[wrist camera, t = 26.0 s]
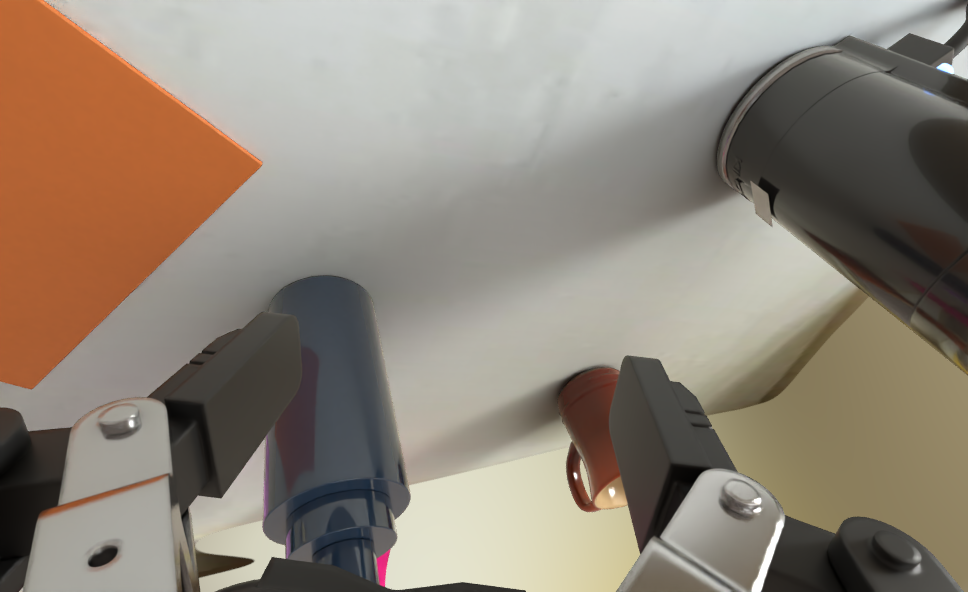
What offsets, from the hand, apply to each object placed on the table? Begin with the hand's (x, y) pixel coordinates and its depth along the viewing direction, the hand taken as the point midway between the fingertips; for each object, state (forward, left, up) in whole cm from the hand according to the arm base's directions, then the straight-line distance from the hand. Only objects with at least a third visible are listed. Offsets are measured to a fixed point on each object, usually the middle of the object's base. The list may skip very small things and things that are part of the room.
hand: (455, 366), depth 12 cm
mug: (+6, +34, -16) cm, 38 cm away
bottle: (+12, +7, -16) cm, 21 cm away
